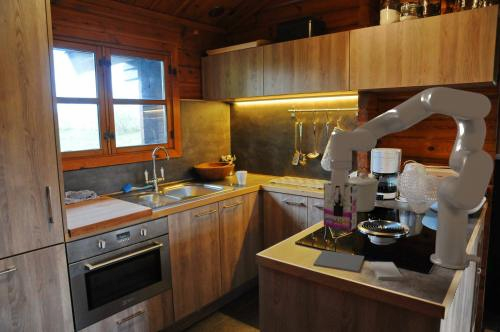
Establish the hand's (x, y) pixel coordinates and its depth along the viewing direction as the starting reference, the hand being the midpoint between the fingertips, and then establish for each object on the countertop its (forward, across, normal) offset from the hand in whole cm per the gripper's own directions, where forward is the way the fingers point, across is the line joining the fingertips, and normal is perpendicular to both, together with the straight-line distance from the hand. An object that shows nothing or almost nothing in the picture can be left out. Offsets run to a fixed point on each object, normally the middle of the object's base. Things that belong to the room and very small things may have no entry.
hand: (340, 213), depth 134 cm
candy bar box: (+5, 0, 0) cm, 5 cm away
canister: (+19, -76, -3) cm, 78 cm away
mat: (+18, 0, 0) cm, 18 cm away
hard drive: (+19, +3, +17) cm, 26 cm away
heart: (+19, -78, +26) cm, 84 cm away
